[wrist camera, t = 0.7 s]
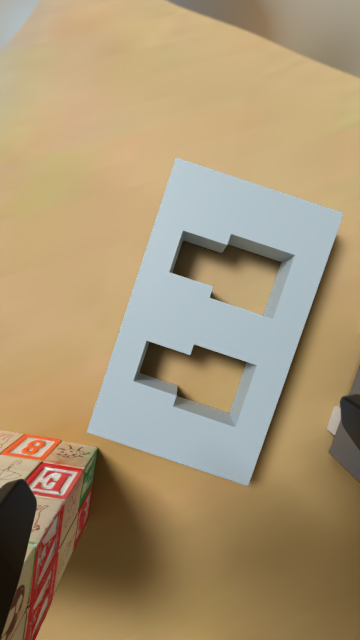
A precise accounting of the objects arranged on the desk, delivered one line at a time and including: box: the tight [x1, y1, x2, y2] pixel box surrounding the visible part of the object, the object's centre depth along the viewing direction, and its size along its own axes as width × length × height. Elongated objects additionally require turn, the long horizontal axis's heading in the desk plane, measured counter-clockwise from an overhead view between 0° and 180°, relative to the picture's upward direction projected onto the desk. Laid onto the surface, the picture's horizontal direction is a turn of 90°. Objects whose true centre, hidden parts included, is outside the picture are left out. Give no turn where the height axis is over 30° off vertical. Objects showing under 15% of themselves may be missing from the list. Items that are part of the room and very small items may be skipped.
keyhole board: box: [87, 158, 344, 486], centre depth 19 cm, size 20×12×2 cm, turn 162°
